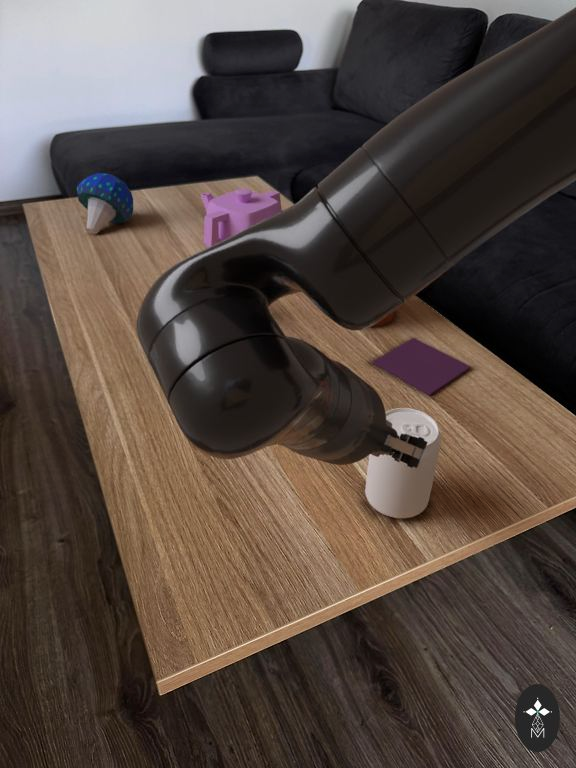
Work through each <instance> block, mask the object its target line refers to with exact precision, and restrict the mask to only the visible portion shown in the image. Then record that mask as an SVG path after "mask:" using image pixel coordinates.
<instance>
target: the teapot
mask: <svg viewBox="0 0 576 768" xmlns="http://www.w3.org/2000/svg"><path fill="white" fill-rule="evenodd" d="M200 197H201V201H202V203H203V206H204V209H205V212H206V214H205V215H204V219H203V220H204V222H203V223H204V224H203V227H204V228H203V244H205V246H206V249H207V248H209V247H211V246H213V245H215V244H217V243H219V242H221V241H223V240H225V239H227V238H229V237H231V236H234V235H236V234H237V233H239V232H241V231H243V230H245V229H247V228H249V227H251V226H253V225H255V224H257V223H259V222H261V221H263V220H265V219H267V218H269V217H271V216H273V215H275V214H277V213H280V212H281V211H283V210H282V209H283V208H282V202H281V192H280V191H276V190H273V189H271V190H269V191H266V192H264V193H259V192H254V191H252V190H251V189H248V188H239V189H236V190H233V191H230V192H228V193H224V194H222V195H219V196H216V197H214V196H213V195H212V193H211V192H210V193H209V192H203V193H201V194H200Z"/></svg>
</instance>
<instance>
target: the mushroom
mask: <svg viewBox="0 0 576 768" xmlns="http://www.w3.org/2000/svg"><path fill="white" fill-rule="evenodd" d="M76 193H77V199H78V202H79V204H81V205H82V206H83V207H84V208H85V210H87V220H86V231H88V233H90V234H93V235H97V234H98V233H99V232H100V231H101V230H102V229H104V227H105V226H106V225H107V224H109V223H115V224H123V223H127V222H128V221H129V220H131V219H133V214H134V197H133V193H132V191H131V190H130V188H129V187H128V185H127V184H126V182H125V181H123V180H122V179H120V178H119V177H117V176H115V175H113V174H110V173H105V172H98V173H97V172H96V173H94V174H91V175H89V176H87V177H85V178H84V179H83V180H81V181H80V182H79V184H78V185H77V187H76Z"/></svg>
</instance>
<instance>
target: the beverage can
mask: <svg viewBox="0 0 576 768" xmlns="http://www.w3.org/2000/svg"><path fill="white" fill-rule="evenodd" d="M385 413H386V420H387V421H389V422H391V423H392V428H393V429H395V430H396V431H397V434H398V436H399V438H400V435H401V434H409V435H411V436H414V437H417V438H419V437H421V438H424V441H427V442H428V443H427V445H426V448H425V450H424V449H423V450H424V452H423V455H422V457H421V460H420V462H419V464H418V467H417V468H415V467H413V468H411V467H409V466H407V464H406V463H404V462H401V461H399V462H397V461H395V460H394V458H392V456H390V455H388V456H387V455H385V454H384V455H381V454H380V456H379V457H376V456H374V455H371V454H370V455H368V464H367V471H366V480H365V488H364V489H365V490H364V492H365V497H366V500H367V502H368V503H369V504H370V506H371V507H372V508H373V509H375V510H376V511H377V512H378V513H380V514H382V515H384V516H387V517H390V518H395V519H407V518H408V519H410V518H414V517H415V516H416V517H417V516H418V515H420V514H421V513H422V512H424V511H425V509H426V508H427V507H428V505H429V503H430V502H429V501H430V497H431V493H432V488H433V483H434V479H435V474H436V468H437V466H438V460H439V455H440V451H441V446H442V436H441V435H442V434H441V432H440V428H439V425H438V423H437V422H436V420H435V419H434V418H432V417H431V415H429V414H428V413H427V412H426V413H425V412H423V411H422V410H419V409H416V408H409V407H397V408H392V409H389V410H387V411H385Z"/></svg>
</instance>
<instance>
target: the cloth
mask: <svg viewBox="0 0 576 768" xmlns="http://www.w3.org/2000/svg"><path fill="white" fill-rule="evenodd" d="M372 364H373V365H374V366H377V367H378V368H380V369H382V370H384V371H385V372H387V373H389V374H390V375H393V376H394V377H396V378H398V379H399V380H401V381H403V382H405V383H407V384H408V385H409V386H412V387H413V388H416V389H417V390H419V391H420V392H423V393H424V394H426V395H428V396H430V397H431V396H432V395H434V394H436V393H437V392H438V391H440V390H441V389H443V388H444V387H445V386H447V385H449V384H451V383H452V382H453V381H455V380H457V379H458V378H459V377H461V376H462V375H464V374H466V372H468V371H469V370H471V366H470V365H468V364H466V363H464V362H462V361H460V360H458V359H456V358H455V357H452V356H450V355H448V354H446V353H444V352H443V351H440V350H438V349H437V348H435V347H433V346H431V345H429V344H427V343H425V342H423V341H421V340H419V339H416V338H415V337H413V338H411V339H409V340H407V341H406V342H404V343H402V344H401V345H399V346H397V347H395V348H394V349H392V350H390V351H388V352H387V353H385V354H383V355H381V356H380V357H378V358H376V359H374V360H372Z"/></svg>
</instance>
